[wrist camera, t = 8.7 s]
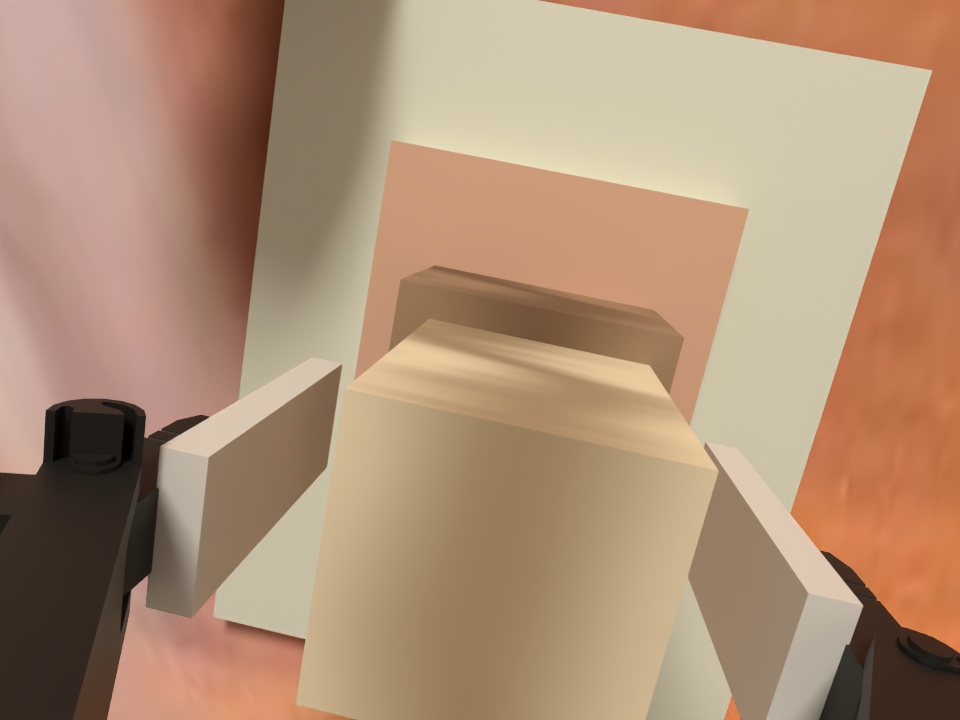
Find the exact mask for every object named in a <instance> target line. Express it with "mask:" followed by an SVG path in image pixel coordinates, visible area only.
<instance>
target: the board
mask: <svg viewBox="0 0 960 720" xmlns="http://www.w3.org/2000/svg"><path fill="white" fill-rule="evenodd" d="M931 73H932V70H926V69H921V68H915V67H910V66H904V65H898V64H893V63H887V62H881V61H876V60H870V59H865V58H859V57H853V56H848V55H842V54H836V53H831V52H825V51H820V50H814V49H808V48H803V47H797V46H792V45H786V44H780V43H775V42H769V41H763V40H758V39H752V38H747V37H741V36H735V35H730V34H724V33H718V32H713V31H707V30H702V29H696V28H690V27H685V26H679V25H674V24H668V23H662V22H657V21H651V20H645V19H640V18H634V17H629V16H623V15H617V14H612V13H606V12H600V11H595V10H589V9H584V8H578V7H572V6H567V5H561V4H555V3H550V2H544V1H539V0H285V4H284V13H283V22H282V30H281V39H280V47H279V56H278V65H277V73H276V82H275V90H274V99H273V108H272V116H271V125H270V134H269V142H268V151H267V159H266V168H265V177H264V185H263V194H262V202H261V211H260V220H259V228H258V237H257V246H256V254H255V263H254V271H253V280H252V289H251V297H250V306H249V314H248V323H247V332H246V340H245V349H244V358H243V366H242V375H241V383H240V392H239V400H240V399H242V398H244V397H245V396H247V395H249V394H251V393H252V392H254V391H256V390H257V389H259V388H261V387H263V386H264V385H266V384H268V383H269V382H271V381H273V380H274V379H276V378H278V377H280V376H281V375H283V374H285V373H286V372H288V371H290V370H292V369H293V368H295V367H297V366H298V365H300V364H302V363H304V362H305V361H307V360H309V359H310V358H312V357H313V358H318V359H323V360H327V361H332V362H337V363H341V364H342V370H341V377H340V384H339V390H338V397H337V404H336V410H335V417H334V424H333V430H332V437H331V444H330V450H329V457H328V464H327V468H326V469H325V470H324V471H323V472H322V473H321V475H320V476H319V477H318V478H317V479H316V480H315V481H314V482H313V483H312V485H311V486H310V487H309V488H308V489H307V490H306V491H305V492H304V493H303V495H302V496H301V497H300V498H299V499H298V500H297V501H296V502H295V503H294V504H293V506H292V507H291V508H290V509H289V510H288V511H287V512H286V513H285V514H284V516H283V517H282V518H281V519H280V520H279V521H278V522H277V523H276V524H275V526H274V527H273V528H272V529H271V530H270V531H269V532H268V533H267V534H266V536H265V537H264V538H263V539H262V540H261V541H260V542H259V543H258V544H257V546H256V547H255V548H254V549H253V550H252V551H251V552H250V553H249V554H248V556H247V557H246V558H245V559H244V560H243V561H242V562H241V563H240V564H239V566H238V567H237V568H236V569H235V570H234V571H233V572H232V573H231V574H230V576H229V577H228V578H227V579H226V580H225V581H224V582H223V583H222V584H221V586H220V587H219V588H218V589H217V590H216V599H215V607H214V616H213V617H215V618H220V619H224V620H228V621H232V622H236V623H240V624H244V625H249V626H253V627H257V628H261V629H265V630H269V631H273V632H278V633H282V634H286V635H290V636H294V637H298V638H303V639H306V634H307V628H308V621H309V615H310V609H311V602H312V596H313V589H314V583H315V577H316V570H317V564H318V557H319V551H320V544H321V538H322V532H323V525H324V519H325V512H326V506H327V500H328V493H329V487H330V480H331V474H332V467H333V461H334V455H335V448H336V442H337V435H338V429H339V423H340V416H341V410H342V403H343V397H344V391H345V388H346V387H347V386H348V385H350V384H351V383H352V382H353V381H354V380H356V379H357V378H358V377H359V376H361V375H362V374H363V373H364V372H365V371H367V370H368V369H369V368H370V367H371V366H373V365H374V364H375V363H376V362H377V361H379V360H380V359H381V358H382V357H384V356H385V355H386V354H387V353H388V352H389V346H390V340H391V334H392V328H393V322H394V316H395V310H396V304H397V298H398V292H399V286H400V279H403V278H405V277H408V276H410V275H413V274H415V273H417V272H420V271H422V270H425V269H427V268H430V267H432V266H434V265H436V266H441V267H446V268H450V269H455V270H460V271H465V272H470V273H475V274H480V275H485V276H490V277H495V278H500V279H505V280H509V281H514V282H519V283H524V284H529V285H534V286H539V287H544V288H549V289H554V290H559V291H563V292H568V293H573V294H578V295H583V296H588V297H593V298H598V299H603V300H608V301H613V302H617V303H622V304H627V305H632V306H637V307H642V308H647V309H652V310H654V311H656V312H657V313H658V314H659V315H660V316H661V317H662V318H663V319H664V320H665V321H666V322H668V323H669V324H670V325H671V326H672V327H673V328H674V329H675V330H676V331H677V332H678V333H680V334H681V335H682V336H683V337H684V341H683V344H682V348H681V352H680V356H679V360H678V363H677V367H676V371H675V375H674V378H673V382H672V386H671V390H670V394H669V396H670V397H671V399H672V400H673V402H674V403H675V405H676V406H677V408H678V409H679V411H680V413H681V414H682V416H683V417H684V419H685V420H686V422H687V423H688V425H689V426H690V428H691V429H692V431H693V432H694V434H695V435H696V437H697V438H698V440H699V442H700V443H701V445H702V446H703V448H704V445H705V442H709V443H713V444H718V445H723V446H727V447H732V448H737V449H738V450H739V451H740V452H741V453H742V455H743V456H744V457H745V458H746V460H747V461H748V462H749V463H750V465H751V466H752V467H753V468H754V470H755V471H756V472H757V473H758V475H759V476H760V477H761V478H762V480H763V481H764V482H765V483H766V485H767V486H768V487H769V488H770V490H771V491H772V492H773V493H774V495H775V496H776V497H777V498H778V500H779V501H780V502H781V503H782V505H783V506H784V507H785V508H786V510H787V511H788V512H789V513H790V512H791V509H792V506H793V503H794V500H795V497H796V493H797V490H798V487H799V484H800V481H801V478H802V475H803V472H804V468H805V465H806V462H807V459H808V456H809V453H810V450H811V447H812V444H813V440H814V437H815V434H816V431H817V428H818V425H819V422H820V419H821V415H822V412H823V409H824V406H825V403H826V400H827V397H828V394H829V391H830V387H831V384H832V381H833V378H834V375H835V372H836V369H837V366H838V362H839V359H840V356H841V353H842V350H843V347H844V344H845V341H846V338H847V334H848V331H849V328H850V325H851V322H852V319H853V316H854V313H855V310H856V306H857V303H858V300H859V297H860V294H861V291H862V288H863V285H864V281H865V278H866V275H867V272H868V269H869V266H870V263H871V260H872V257H873V253H874V250H875V247H876V244H877V241H878V238H879V235H880V232H881V228H882V225H883V222H884V219H885V216H886V213H887V210H888V207H889V204H890V200H891V197H892V194H893V191H894V188H895V185H896V182H897V179H898V176H899V172H900V169H901V166H902V163H903V160H904V157H905V154H906V151H907V147H908V144H909V141H910V138H911V135H912V132H913V129H914V126H915V123H916V119H917V116H918V113H919V110H920V107H921V104H922V101H923V98H924V94H925V91H926V88H927V85H928V82H929V79H930V76H931ZM731 696H732V693H731V691H730V688H729V685H728V683H727V680H726V678H725V675H724V672H723V670H722V667H721V664H720V662H719V659H718V656H717V654H716V651H715V648H714V646H713V643H712V640H711V638H710V635H709V632H708V630H707V627H706V624H705V622H704V619H703V616H702V614H701V611H700V608H699V606H698V603H697V600H696V598H695V595H694V592H693V590H692V587H691V584H690V582H689V579H688V577H687V581H686V584H685V587H684V591H683V594H682V598H681V601H680V604H679V608H678V611H677V615H676V618H675V621H674V625H673V628H672V632H671V635H670V638H669V642H668V645H667V649H666V652H665V655H664V659H663V662H662V666H661V669H660V672H659V676H658V679H657V683H656V686H655V689H654V693H653V696H652V700H651V703H650V706H649V710H648V713H647V717H646V720H724V718H725V715H726V712H727V708H728V705H729V702H730V699H731Z"/></svg>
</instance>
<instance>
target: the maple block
mask: <svg viewBox="0 0 960 720" xmlns="http://www.w3.org/2000/svg"><path fill="white" fill-rule="evenodd" d="M718 472H719V471H718V469H717V467H716V466H715V464H714V463H713V461H712V460H711V458H710V457H709V455H708V454H707V452H706V451H705V449H704V448H703V446H702V445H701V443H700V442H699V440H698V438H697V437H696V435H695V434H694V432H693V431H692V429H691V428H690V426H689V425H688V423H687V422H686V420H685V419H684V417H683V416H682V414H681V413H680V411H679V409H678V408H677V406H676V405H675V403H674V402H673V400H672V399H671V397H670V396H669V394H668V393H667V391H666V390H665V388H664V387H663V385H662V384H661V382H660V381H659V379H658V377H657V376H656V374H655V373H654V371H653V370H652V368H651V367H650V365H645V364H640V363H636V362H631V361H626V360H622V359H617V358H612V357H607V356H603V355H598V354H593V353H589V352H584V351H579V350H574V349H570V348H565V347H560V346H556V345H551V344H546V343H541V342H537V341H532V340H527V339H523V338H518V337H513V336H509V335H504V334H499V333H494V332H490V331H485V330H480V329H476V328H471V327H466V326H461V325H457V324H452V323H447V322H443V321H438V320H433V319H428V320H427V321H426V322H425V323H423V324H422V325H421V326H420V327H419V328H417V329H416V330H415V331H414V332H413V333H411V334H410V335H409V336H408V337H406V338H405V339H404V340H403V341H402V342H400V343H399V344H398V345H397V346H396V347H394V348H393V349H392V350H391V351H390V352H388V353H387V354H386V355H385V356H384V357H382V358H381V359H380V360H379V361H377V362H376V363H375V364H374V365H373V366H371V367H370V368H369V369H368V370H367V371H365V372H364V373H363V374H362V375H361V376H359V377H358V378H357V379H356V380H354V381H353V382H352V383H351V384H350V385H348V386H347V387H346V388H345V391H344V397H343V403H342V410H341V416H340V423H339V429H338V435H337V442H336V448H335V455H334V461H333V467H332V474H331V480H330V487H329V493H328V500H327V506H326V512H325V519H324V525H323V532H322V538H321V544H320V551H319V557H318V564H317V570H316V577H315V583H314V589H313V596H312V602H311V609H310V615H309V621H308V628H307V634H306V641H305V647H304V654H303V660H302V666H301V673H300V679H299V686H298V692H297V698H296V705H300V706H304V707H308V708H312V709H316V710H320V711H324V712H328V713H331V714H335V715H339V716H343V717H347V718H351V719H355V720H646V717H647V713H648V710H649V706H650V703H651V700H652V696H653V693H654V689H655V686H656V683H657V679H658V676H659V672H660V669H661V666H662V662H663V659H664V655H665V652H666V649H667V645H668V642H669V638H670V635H671V632H672V628H673V625H674V621H675V618H676V615H677V611H678V608H679V604H680V601H681V598H682V594H683V591H684V587H685V584H686V581H687V577H688V574H689V570H690V567H691V564H692V560H693V557H694V553H695V550H696V547H697V543H698V540H699V536H700V533H701V530H702V526H703V523H704V519H705V516H706V513H707V509H708V506H709V502H710V499H711V496H712V492H713V489H714V485H715V482H716V479H717V475H718Z"/></svg>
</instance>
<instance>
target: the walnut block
mask: <svg viewBox="0 0 960 720" xmlns="http://www.w3.org/2000/svg"><path fill="white" fill-rule="evenodd" d="M428 319H433V320H438V321H443V322H447V323H452V324H457V325H461V326H466V327H471V328H476V329H480V330H485V331H490V332H494V333H499V334H504V335H509V336H513V337H518V338H523V339H527V340H532V341H537V342H541V343H546V344H551V345H556V346H560V347H565V348H570V349H574V350H579V351H584V352H589V353H593V354H598V355H603V356H607V357H612V358H617V359H622V360H626V361H631V362H636V363H640V364H645V365H650V367H651V368H652V370H653V371H654V373H655V374H656V376H657V377H658V379H659V381H660V382H661V384H662V385H663V387H664V388H665V390H666V391H667V393H668V394H670V390H671V386H672V382H673V378H674V375H675V371H676V367H677V363H678V360H679V356H680V352H681V348H682V344H683V341H684V337H683V336H682V335H681V334H680V333H678V332H677V331H676V330H675V329H674V328H673V327H672V326H671V325H670V324H669V323H668V322H666V321H665V320H664V319H663V318H662V317H661V316H660V315H659V314H658V313H657V312H656V311H654V310H652V309H647V308H642V307H637V306H632V305H627V304H622V303H617V302H613V301H608V300H603V299H598V298H593V297H588V296H583V295H578V294H573V293H568V292H563V291H559V290H554V289H549V288H544V287H539V286H534V285H529V284H524V283H519V282H514V281H509V280H505V279H500V278H495V277H490V276H485V275H480V274H475V273H470V272H465V271H460V270H455V269H450V268H446V267H441V266H436V265H434V266H432V267H430V268H427V269H425V270H422V271H420V272H417V273H415V274H413V275H410V276H408V277H405V278H403V279H400V286H399V292H398V298H397V304H396V310H395V316H394V322H393V328H392V334H391V340H390V346H389V352H390V351H391V350H392V349H393V348H394V347H396V346H397V345H398V344H399V343H400V342H402V341H403V340H404V339H405V338H406V337H408V336H409V335H410V334H411V333H413V332H414V331H415V330H416V329H417V328H419V327H420V326H421V325H422V324H423V323H425V322H426V321H427V320H428Z"/></svg>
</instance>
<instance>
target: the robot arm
mask: <svg viewBox="0 0 960 720" xmlns="http://www.w3.org/2000/svg"><path fill="white" fill-rule="evenodd" d="M341 370H342V364H341V363H337V362H332V361H327V360H323V359H318V358H313V357H312V358H310V359H309V360H307V361H305V362H304V363H302V364H300V365H298V366H297V367H295V368H293V369H292V370H290V371H288V372H286V373H285V374H283V375H281V376H280V377H278V378H276V379H274V380H273V381H271V382H269V383H268V384H266V385H264V386H263V387H261V388H259V389H257V390H256V391H254V392H252V393H251V394H249V395H247V396H245V397H244V398H242V399H240V400H239V401H237V402H235V403H233V404H232V405H230V406H228V407H227V408H225V409H223V410H221V411H220V412H218V413H216V414H215V415H213V416H211V417H208V416H204V415H198V416H194V417H190V418H185V419H181V420H177V421H175V422H173V423H171V424H170V425H168V426H166V427H164V428H162V430H161V431H157V432H155V433H153V434H151V435H149V437H148V438H144V433H145V421H146V415H145V412H144V410H143V409H141V408H140V407H138V406H136V405H134V404H130V403H127V402H123V401H117V400H109V399H79V400H70V401H65V402H62V403H58V404H55V405H53V406H51V407H50V408H48V409H47V410H46V417H45V437H44V458H43V464H42V465H41V467H40V469H39V471H38V472H37V474H36V475H28V474H13V473H0V720H107V716H108V712H109V707H110V702H111V697H112V693H113V688H114V683H115V678H116V674H117V669H118V664H119V660H120V655H121V650H122V645H123V641H124V636H125V631H126V627H127V622H128V617H129V611H130V599H131V589H133V588H134V587H135V586H136V585H137V584H138V583H139V582H140V581H142V580H143V579H144V578H145V577H146V576H147V575H148V574H149V575H148V586H147V597H146V607H148V608H152V609H156V610H161V611H165V612H169V613H173V614H177V615H181V616H185V617H189V618H192V617H193V616H194V614H195V613H196V612H197V611H198V610H199V609H200V608H201V607H202V606H203V604H204V603H205V602H206V601H207V600H208V599H209V598H210V597H211V596H212V594H213V593H214V592H215V591H216V590H217V589H218V588H219V587H220V586H221V584H222V583H223V582H224V581H225V580H226V579H227V578H228V577H229V576H230V574H231V573H232V572H233V571H234V570H235V569H236V568H237V567H238V566H239V564H240V563H241V562H242V561H243V560H244V559H245V558H246V557H247V556H248V554H249V553H250V552H251V551H252V550H253V549H254V548H255V547H256V546H257V544H258V543H259V542H260V541H261V540H262V539H263V538H264V537H265V536H266V534H267V533H268V532H269V531H270V530H271V529H272V528H273V527H274V526H275V524H276V523H277V522H278V521H279V520H280V519H281V518H282V517H283V516H284V514H285V513H286V512H287V511H288V510H289V509H290V508H291V507H292V506H293V504H294V503H295V502H296V501H297V500H298V499H299V498H300V497H301V496H302V495H303V493H304V492H305V491H306V490H307V489H308V488H309V487H310V486H311V485H312V483H313V482H314V481H315V480H316V479H317V478H318V477H319V476H320V475H321V473H322V472H323V471H324V470H325V469H326V468H327V464H328V457H329V450H330V444H331V437H332V430H333V424H334V417H335V410H336V404H337V397H338V390H339V384H340V377H341ZM704 449H705V451H706V452H707V454H708V455H709V457H710V458H711V460H712V461H713V463H714V464H715V466H716V467H717V469H718V471H719V472H718V475H717V479H716V482H715V485H714V489H713V492H712V496H711V499H710V502H709V506H708V509H707V513H706V516H705V519H704V523H703V526H702V530H701V533H700V536H699V540H698V543H697V547H696V550H695V553H694V557H693V560H692V564H691V567H690V570H689V574H688V579H689V582H690V584H691V587H692V590H693V592H694V595H695V598H696V600H697V603H698V606H699V608H700V611H701V614H702V616H703V619H704V622H705V624H706V627H707V630H708V632H709V635H710V638H711V640H712V643H713V646H714V648H715V651H716V654H717V656H718V659H719V662H720V664H721V667H722V670H723V672H724V675H725V678H726V680H727V683H728V685H729V688H730V691H731V693H732V696H733V699H734V701H735V704H736V707H737V709H738V712H739V715H740V717H741V720H960V653H958V652H957V651H955V650H954V649H952V648H951V647H949V646H948V645H946V644H944V643H942V642H941V641H939V640H937V639H935V638H933V637H931V636H928V635H926V634H923V633H920V632H917V631H914V630H911V629H908V628H904V627H901V626H900V625H899V624H898V622H897V621H896V620H895V619H894V618H893V617H892V615H891V614H890V613H889V612H888V611H887V610H886V608H885V607H884V606H883V605H882V604H881V603H880V601H876V597H875V595H874V594H873V593H872V592H871V591H870V590H869V588H866V587H865V584H864V583H863V581H862V580H861V579H860V578H859V577H858V575H857V574H856V573H855V572H854V571H853V570H852V569H851V568H850V567H849V566H847V565H846V564H844V563H843V562H842V561H840V560H839V559H837V558H836V557H835V556H833V555H832V554H830V553H828V552H824V551H820V550H818V548H817V547H816V546H815V545H814V543H813V542H812V541H811V540H810V538H809V537H808V536H807V535H806V533H805V532H804V531H803V530H802V528H801V527H800V526H799V525H798V523H797V522H796V521H795V520H794V518H793V517H792V516H791V515H790V513H789V512H788V511H787V510H786V508H785V507H784V506H783V505H782V503H781V502H780V501H779V500H778V498H777V497H776V496H775V495H774V493H773V492H772V491H771V490H770V488H769V487H768V486H767V485H766V483H765V482H764V481H763V480H762V478H761V477H760V476H759V475H758V473H757V472H756V471H755V470H754V468H753V467H752V466H751V465H750V463H749V462H748V461H747V460H746V458H745V457H744V456H743V455H742V453H741V452H740V451H739V450H738V449H737V448H732V447H727V446H723V445H718V444H713V443H709V442H705V445H704Z"/></svg>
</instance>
